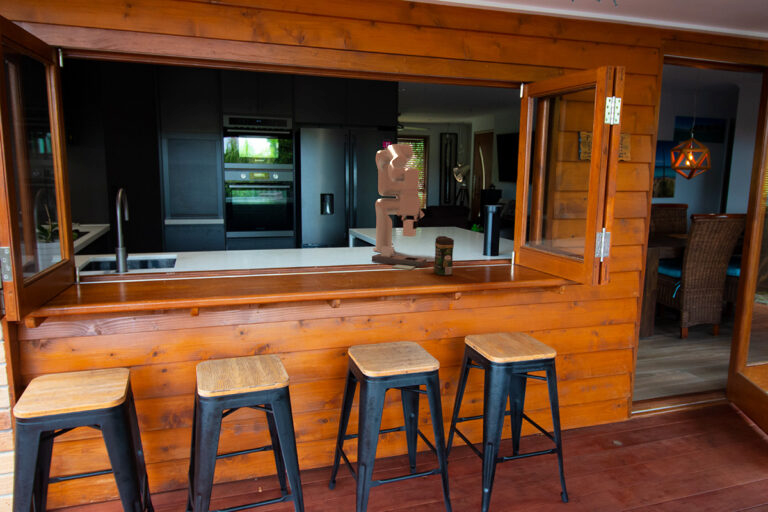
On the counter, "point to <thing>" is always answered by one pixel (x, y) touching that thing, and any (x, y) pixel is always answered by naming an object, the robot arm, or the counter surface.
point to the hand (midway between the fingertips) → (409, 228)
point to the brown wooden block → (387, 251)
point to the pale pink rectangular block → (408, 228)
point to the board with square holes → (400, 260)
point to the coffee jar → (443, 255)
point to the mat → (403, 267)
